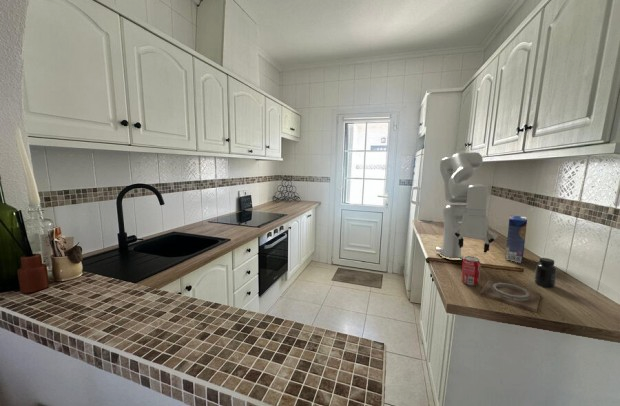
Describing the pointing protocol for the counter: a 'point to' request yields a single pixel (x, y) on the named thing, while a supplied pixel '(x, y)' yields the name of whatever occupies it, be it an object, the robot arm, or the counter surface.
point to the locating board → (511, 295)
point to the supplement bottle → (545, 273)
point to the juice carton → (516, 238)
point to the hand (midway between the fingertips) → (473, 249)
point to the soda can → (471, 270)
